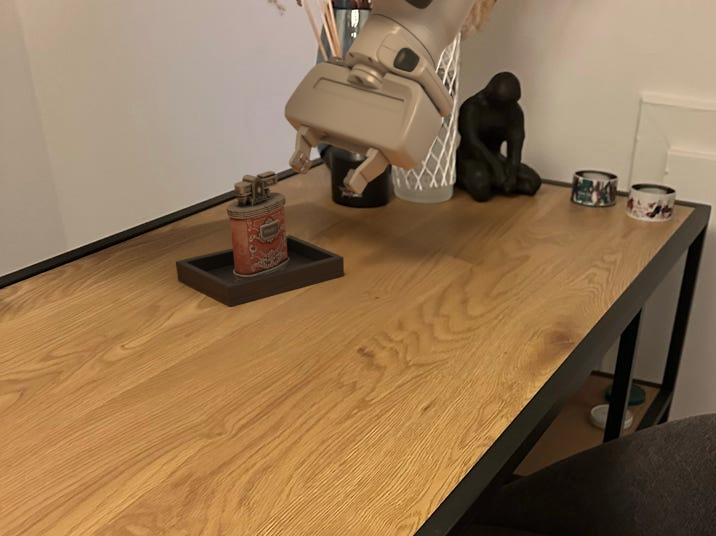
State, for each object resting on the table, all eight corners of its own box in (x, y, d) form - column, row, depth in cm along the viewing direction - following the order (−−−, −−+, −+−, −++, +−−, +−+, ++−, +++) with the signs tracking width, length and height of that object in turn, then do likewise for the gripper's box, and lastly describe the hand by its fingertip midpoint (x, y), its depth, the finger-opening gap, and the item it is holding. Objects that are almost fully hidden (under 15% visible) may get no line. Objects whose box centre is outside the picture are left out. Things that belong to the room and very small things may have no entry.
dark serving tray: (177, 280, 103) (175, 261, 101) (291, 252, 112) (290, 234, 110) (230, 307, 98) (228, 286, 96) (344, 275, 107) (343, 257, 106)
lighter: (251, 286, 101) (242, 186, 95) (226, 279, 102) (215, 180, 96) (296, 266, 107) (290, 171, 100) (272, 259, 108) (265, 165, 101)
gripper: (310, 33, 106) (247, 140, 106) (437, 64, 96) (367, 182, 96) (342, 74, 111) (282, 176, 112) (465, 108, 101) (399, 219, 102)
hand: (323, 179), depth 104 cm, fingers open, 8 cm apart
